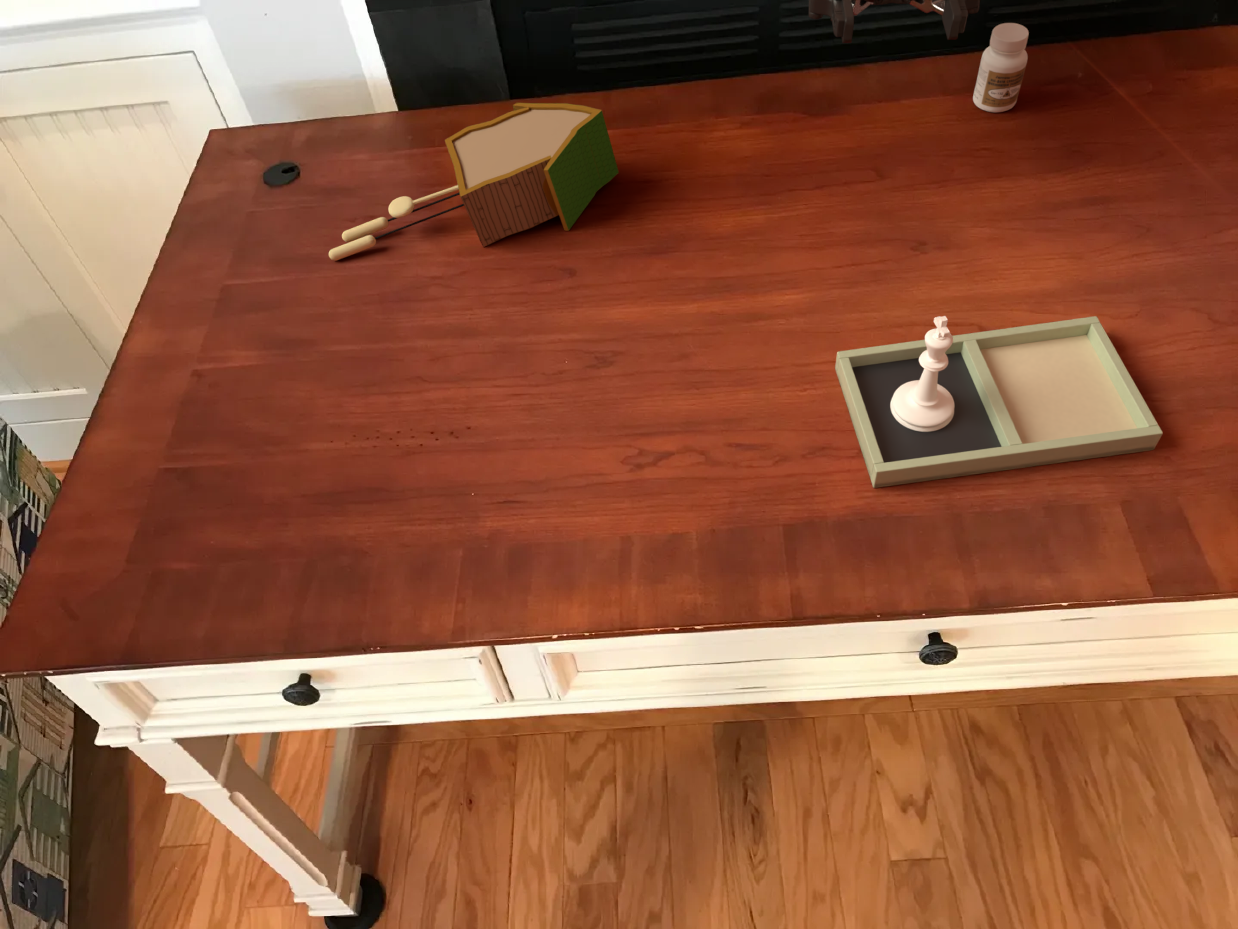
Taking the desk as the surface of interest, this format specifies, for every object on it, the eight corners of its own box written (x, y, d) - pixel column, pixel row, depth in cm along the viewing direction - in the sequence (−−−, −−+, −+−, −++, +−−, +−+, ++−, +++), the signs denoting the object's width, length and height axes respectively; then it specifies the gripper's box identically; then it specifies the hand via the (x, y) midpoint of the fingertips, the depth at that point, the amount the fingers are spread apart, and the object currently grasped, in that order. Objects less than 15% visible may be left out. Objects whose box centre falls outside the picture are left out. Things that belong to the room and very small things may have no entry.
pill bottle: (984, 117, 101) (1000, 47, 95) (964, 94, 104) (979, 25, 98) (1023, 108, 102) (1042, 37, 96) (1003, 85, 104) (1020, 15, 98)
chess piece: (938, 379, 80) (961, 288, 72) (964, 424, 77) (991, 334, 69) (880, 392, 80) (897, 303, 72) (904, 438, 77) (925, 350, 69)
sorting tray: (1089, 333, 83) (1096, 315, 81) (1153, 450, 75) (1163, 433, 73) (834, 368, 83) (836, 351, 81) (873, 488, 75) (876, 472, 74)
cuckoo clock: (352, 315, 97) (635, 207, 97) (315, 260, 91) (618, 144, 90) (337, 238, 104) (602, 137, 104) (302, 182, 98) (584, 74, 97)
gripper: (806, -104, 88) (817, -12, 78) (970, -112, 86) (1003, -19, 77) (799, -20, 93) (809, 75, 84) (952, -26, 92) (981, 70, 82)
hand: (901, 30), depth 80 cm, fingers open, 8 cm apart
